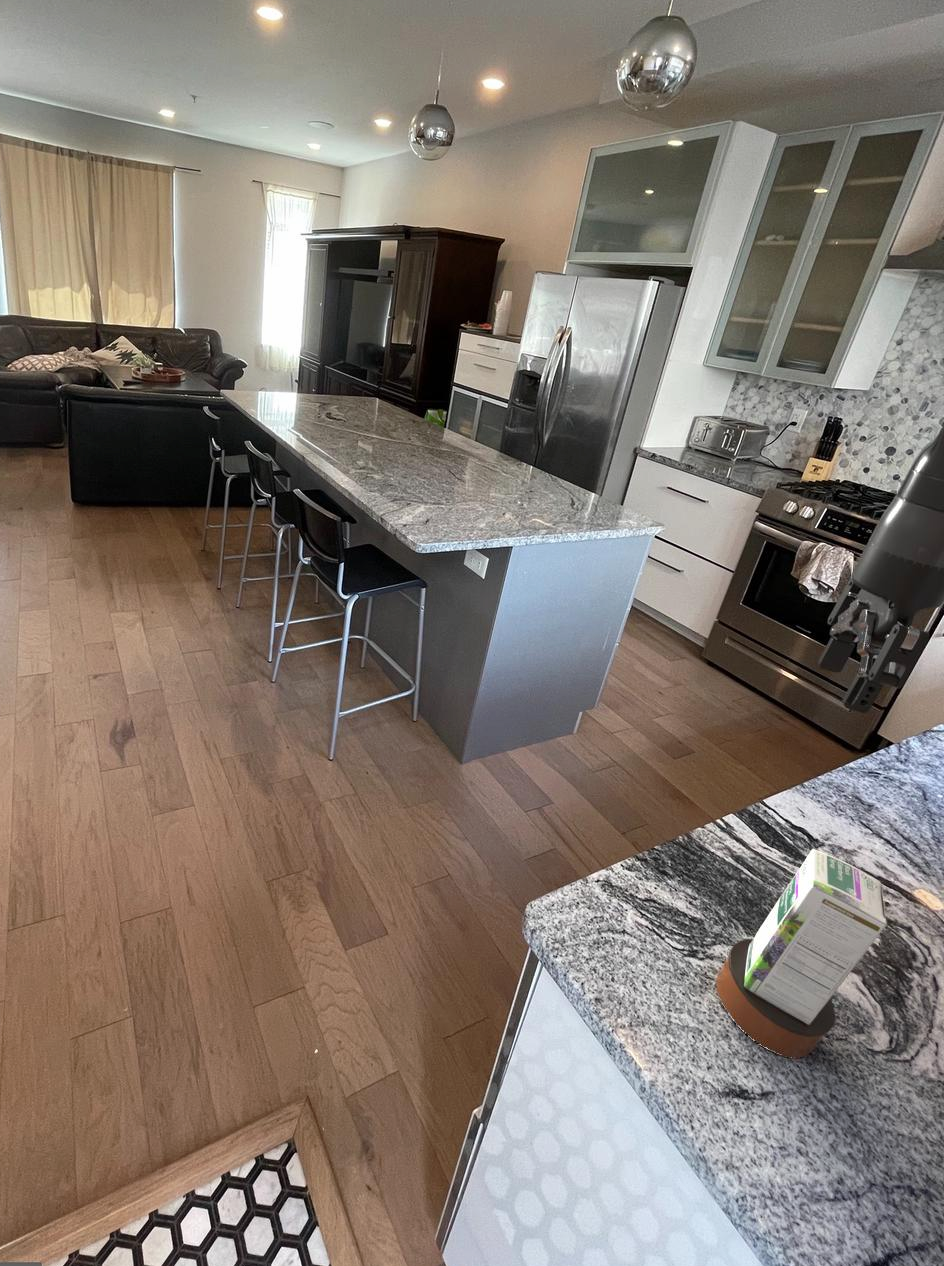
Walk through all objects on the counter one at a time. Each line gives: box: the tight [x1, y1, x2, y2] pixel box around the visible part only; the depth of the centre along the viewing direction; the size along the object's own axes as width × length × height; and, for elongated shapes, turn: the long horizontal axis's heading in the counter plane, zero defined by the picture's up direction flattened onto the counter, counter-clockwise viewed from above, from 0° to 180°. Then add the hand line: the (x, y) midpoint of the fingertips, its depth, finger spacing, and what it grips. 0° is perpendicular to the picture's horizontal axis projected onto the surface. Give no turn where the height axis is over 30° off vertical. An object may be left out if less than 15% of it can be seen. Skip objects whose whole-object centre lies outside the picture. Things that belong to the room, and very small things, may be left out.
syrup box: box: [744, 848, 888, 1025], centre depth 58 cm, size 6×6×14 cm
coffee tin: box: [715, 938, 836, 1059], centre depth 62 cm, size 9×9×4 cm
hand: (840, 687), depth 68 cm, fingers open, 8 cm apart
